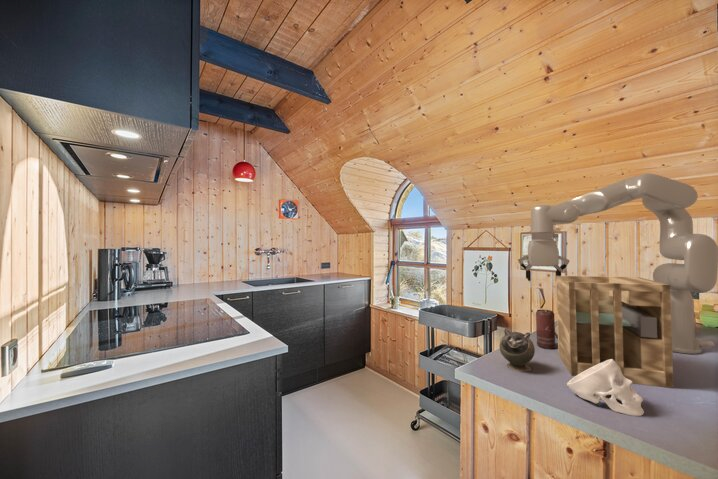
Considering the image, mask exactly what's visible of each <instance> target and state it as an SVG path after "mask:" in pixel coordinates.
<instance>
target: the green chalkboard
mask: <svg viewBox="0 0 718 479" xmlns="http://www.w3.org/2000/svg"><path fill="white" fill-rule="evenodd" d="M598 315H599V324H603V325H614V313H613V314H603V313H598ZM576 323H588V324H591V313H585V312H576ZM622 326H625V327H627V328H628V329H630V330H631V331H633V332H634V333H636V334H638V335H639V336H641V337H650V338H657V318H656V317H654V316H652V315H650V314H648V313H646V312H643V311H641V310H639V309H637V308H635V307H629V306H622Z"/></svg>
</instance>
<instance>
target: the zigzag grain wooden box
mask: <svg viewBox="0 0 718 479" xmlns="http://www.w3.org/2000/svg"><path fill="white" fill-rule="evenodd" d="M555 282H556V283H555V284H556V315H557V316H556V317H557V319H556V320H557V323H556V325H557V324H558V337H557V349H558V351H557V352H558V356H559V357H560V360H561V361H562V363H563V364H564V366H565V367H566V369H567V371H568V373H569V374H570V375H571V376H573V377H575V376H577V375H578V374H580V373H582V372H583V371H585V370H587V369H589V368H591V367H593V366H595V365H597V364H599V363H602V362H604V361H606V360H609V359H613V360H614V361H615V362H616V363H617V365H618V366H619V367H620V369H621V372H622V374H623V376H624V377H625V378H627V379H629V380H631V381H632V383H631V384H636V385H642V386H643V385H644V386H651V387H653V386H654V387H661V388H668V389H669V388H670V389H674V368H673V366H674V365H673V364H674V362H673V361H674V360H673V351H672V330H671V299H670V285H668V284H664V283H660V282H656V281H654V280H653V279H652V280H650V279H647V278H643V277H640V276H639V277H638V276H637V277H636V276H590V275H588V276H587V275H584V276H583V275H561V276H556V275H555ZM622 306H629V307H635V308H637V309H639V310H641V311H643V312H646V313H648V314H650V315H652V316H654V317H656V318H657V338H650V337H641V336H639V335H638V334H636V333H634V332H633V331H631V330H630V329H628V328H627V327H625V326H622ZM576 312H585V313H591V324H588V323H576ZM598 313H603V314H613V313H614V325H603V324H599V315H598Z"/></svg>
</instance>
